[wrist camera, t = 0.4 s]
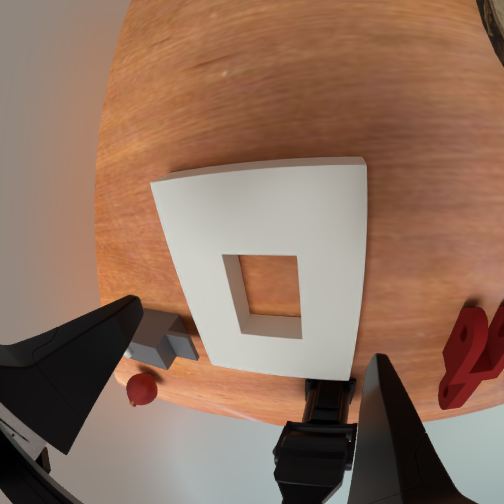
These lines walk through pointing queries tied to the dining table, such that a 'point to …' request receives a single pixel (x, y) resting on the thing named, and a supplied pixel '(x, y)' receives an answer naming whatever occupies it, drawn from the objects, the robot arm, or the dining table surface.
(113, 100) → the dining table surface
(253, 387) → the dining table surface
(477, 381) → the mechanical linkage
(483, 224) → the dining table surface
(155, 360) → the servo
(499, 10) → the wood slice
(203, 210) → the frame
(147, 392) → the onion
